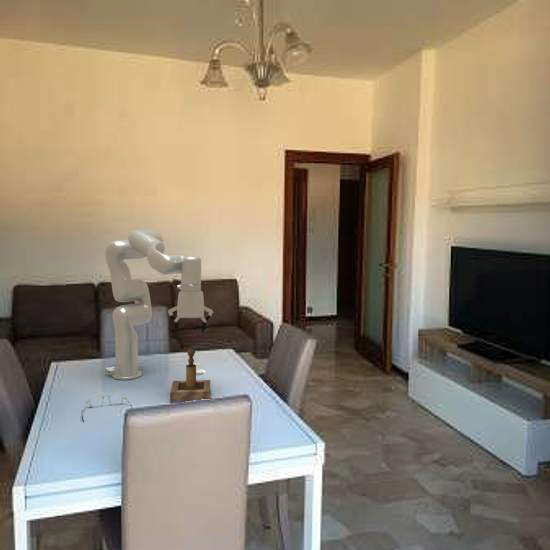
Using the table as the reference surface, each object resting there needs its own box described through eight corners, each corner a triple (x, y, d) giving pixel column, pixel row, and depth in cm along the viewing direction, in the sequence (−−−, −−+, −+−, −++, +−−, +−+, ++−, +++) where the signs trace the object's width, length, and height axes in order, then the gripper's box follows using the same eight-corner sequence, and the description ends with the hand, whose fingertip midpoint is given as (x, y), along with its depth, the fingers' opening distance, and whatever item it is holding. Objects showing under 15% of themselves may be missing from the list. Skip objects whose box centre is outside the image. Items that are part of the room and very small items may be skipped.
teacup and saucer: (203, 375, 232) (203, 367, 232) (186, 375, 233) (186, 366, 232) (207, 370, 241) (207, 362, 241) (190, 370, 241) (190, 361, 241)
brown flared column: (185, 396, 199) (185, 350, 197) (180, 392, 205) (180, 347, 203) (202, 394, 202) (201, 349, 200) (196, 389, 208) (196, 345, 206)
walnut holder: (170, 402, 195) (170, 392, 195) (173, 390, 210) (173, 380, 209) (210, 401, 197) (210, 391, 196) (210, 389, 212) (210, 379, 211)
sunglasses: (130, 404, 194) (129, 391, 194) (133, 418, 180) (133, 404, 180) (81, 408, 188) (81, 395, 188) (81, 423, 174) (81, 409, 174)
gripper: (167, 289, 195) (166, 333, 196) (213, 289, 197) (212, 334, 199) (168, 286, 202) (168, 329, 204) (213, 287, 204) (212, 329, 206)
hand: (190, 331), depth 201 cm, fingers open, 9 cm apart
